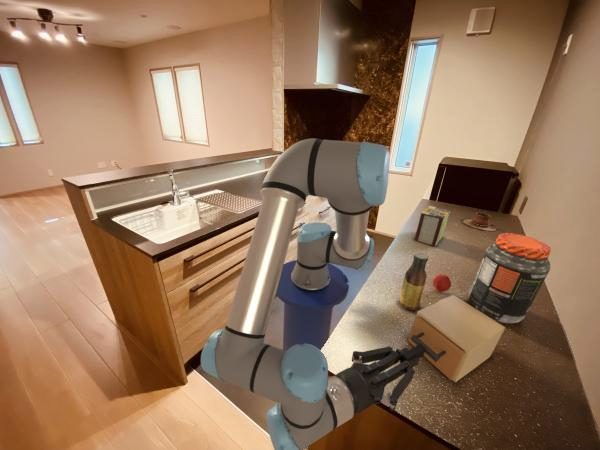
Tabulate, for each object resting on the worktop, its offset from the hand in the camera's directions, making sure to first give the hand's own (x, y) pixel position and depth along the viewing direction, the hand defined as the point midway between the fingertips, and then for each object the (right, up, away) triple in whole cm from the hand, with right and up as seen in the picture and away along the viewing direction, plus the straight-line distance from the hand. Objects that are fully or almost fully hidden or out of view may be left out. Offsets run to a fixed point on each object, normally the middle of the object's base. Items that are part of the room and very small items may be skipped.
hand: (421, 349), depth 60 cm
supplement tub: (+37, +2, +25) cm, 44 cm away
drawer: (+8, -4, +7) cm, 11 cm away
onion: (+22, +5, +32) cm, 39 cm away
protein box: (+39, +23, +73) cm, 86 cm away
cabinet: (+12, -4, +9) cm, 15 cm away
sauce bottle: (+7, +3, +24) cm, 26 cm away
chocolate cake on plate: (+83, +30, +94) cm, 129 cm away
